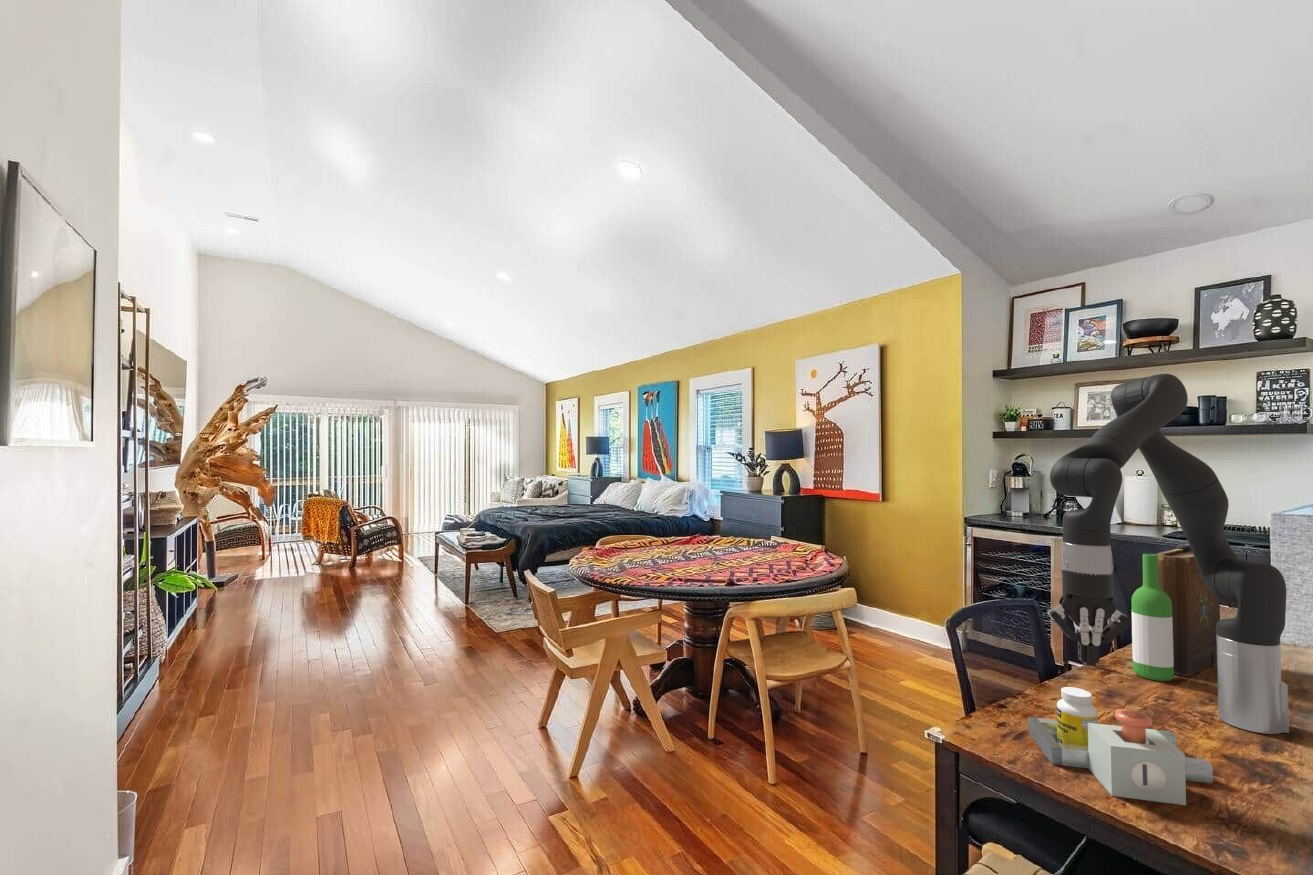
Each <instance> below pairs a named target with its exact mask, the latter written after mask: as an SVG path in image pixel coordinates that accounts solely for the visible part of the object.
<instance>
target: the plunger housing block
mask: <svg viewBox="0 0 1313 875" xmlns="http://www.w3.org/2000/svg"><path fill="white" fill-rule="evenodd" d="M1156 730H1157V729H1152V728H1146V743H1145V744H1138V743H1132V742H1129V741H1126V740H1124V739H1123V738H1122V737H1121V725H1114V724H1105V723H1104V724H1103V723H1098V724H1095V723H1088V759H1089V769H1088V770H1089V771H1090V772H1091V773H1092V775H1094V777H1095V778H1096V779H1097V780H1098V782H1099V783H1100V785H1102V786H1103V788H1104V789H1105V790H1106V791H1107V792H1108V793H1109V794H1110V796H1111V797H1118V798H1126V799H1134V800H1142V801H1148V802H1156V803H1162V804H1163V803H1164V804H1172V805H1180V806H1187V790H1186V787H1187V786H1186V785H1187V784H1186V781H1187V780H1185V757H1186V755H1185V752H1183V751H1182V750H1181V749H1179V748H1178V747H1177V745H1176V746H1175V745H1173V744H1172V743H1171V742H1170V741H1169V740H1167V739H1166V738H1165V737H1164V736H1162V735H1161V734H1160V733H1159V732H1158V731H1156Z"/></svg>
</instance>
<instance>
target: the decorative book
mask: <svg viewBox="0 0 1313 875" xmlns="http://www.w3.org/2000/svg"><path fill="white" fill-rule="evenodd" d="M1155 555H1158V574H1159V587H1160V589H1161V590H1163V591H1164V592H1165V593H1166V594H1167V595H1168V596H1169V598H1170V600H1171V603H1172V623H1173V658H1174V675H1178V676H1185V677H1188V676H1189V677H1190V676H1193V675H1194V674H1197V673H1198V672H1200V671H1203V670H1204V669H1206V668H1208V667H1209V666H1211V667H1215V666H1217V638H1216V624H1217V622H1218V621H1219V620H1221V602H1220V600H1221V599H1220V598H1218V597H1216V596H1215V595H1214V594H1212V593H1211V592H1210V591H1209V589H1208V588H1207V586H1206V585H1205V583H1204V580H1203V578H1202V576H1201V573H1200V571H1199V568H1198V565H1197V563H1196V560H1195V557H1194V555H1193V552H1192V549H1191V547H1190V545H1189V543H1185V544H1180V545H1176V548H1175V549H1171V550H1165V551H1161V552H1157V553H1156V554H1155Z"/></svg>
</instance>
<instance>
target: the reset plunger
mask: <svg viewBox="0 0 1313 875" xmlns="http://www.w3.org/2000/svg"><path fill="white" fill-rule="evenodd" d="M1114 718H1115V720H1116V721H1118V722H1120V726H1121V737H1122V738H1123V739H1124V740H1126V741H1129V742H1132V743H1138V744H1145V743H1146V729H1150V728H1152V726H1153V719H1152V716H1150V715H1148V714H1146V713H1145V712H1141V711H1137V710H1135V709H1129V708H1117V709H1114Z"/></svg>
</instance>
